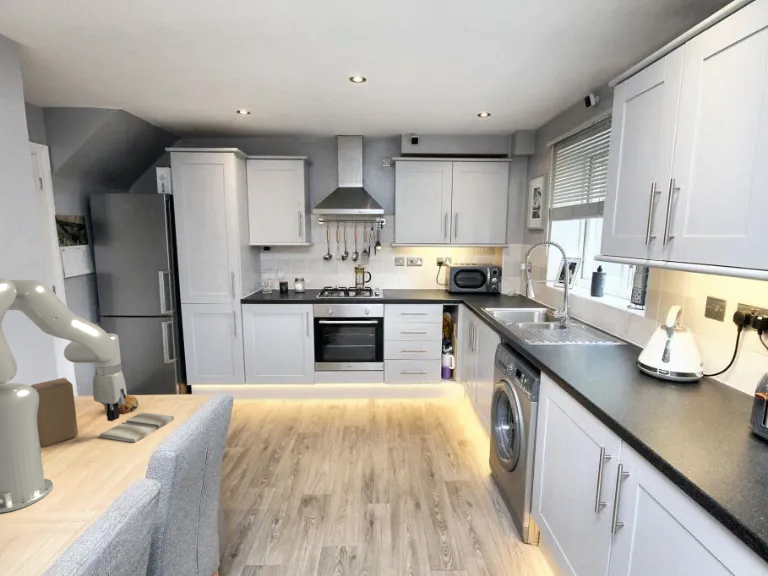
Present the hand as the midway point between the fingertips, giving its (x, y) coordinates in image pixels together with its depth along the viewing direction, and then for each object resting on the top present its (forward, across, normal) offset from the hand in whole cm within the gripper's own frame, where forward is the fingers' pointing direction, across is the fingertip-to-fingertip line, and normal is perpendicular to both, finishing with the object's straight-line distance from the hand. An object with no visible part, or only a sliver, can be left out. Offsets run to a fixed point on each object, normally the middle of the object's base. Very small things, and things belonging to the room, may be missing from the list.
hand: (113, 419), depth 134 cm
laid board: (+6, +4, +11) cm, 13 cm away
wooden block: (+6, -18, -6) cm, 20 cm away
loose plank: (+6, +4, +2) cm, 7 cm away
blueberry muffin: (+7, -16, +18) cm, 25 cm away
